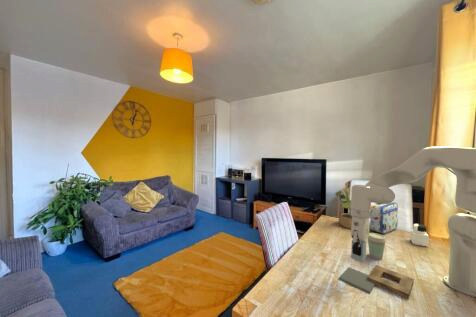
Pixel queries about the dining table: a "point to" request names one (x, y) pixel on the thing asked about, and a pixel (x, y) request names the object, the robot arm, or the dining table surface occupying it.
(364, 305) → the dining table surface
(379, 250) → the coffee cup
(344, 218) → the potted plant
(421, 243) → the salt and pepper set
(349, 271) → the coaster
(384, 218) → the lunch box
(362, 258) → the slate block
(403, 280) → the board
